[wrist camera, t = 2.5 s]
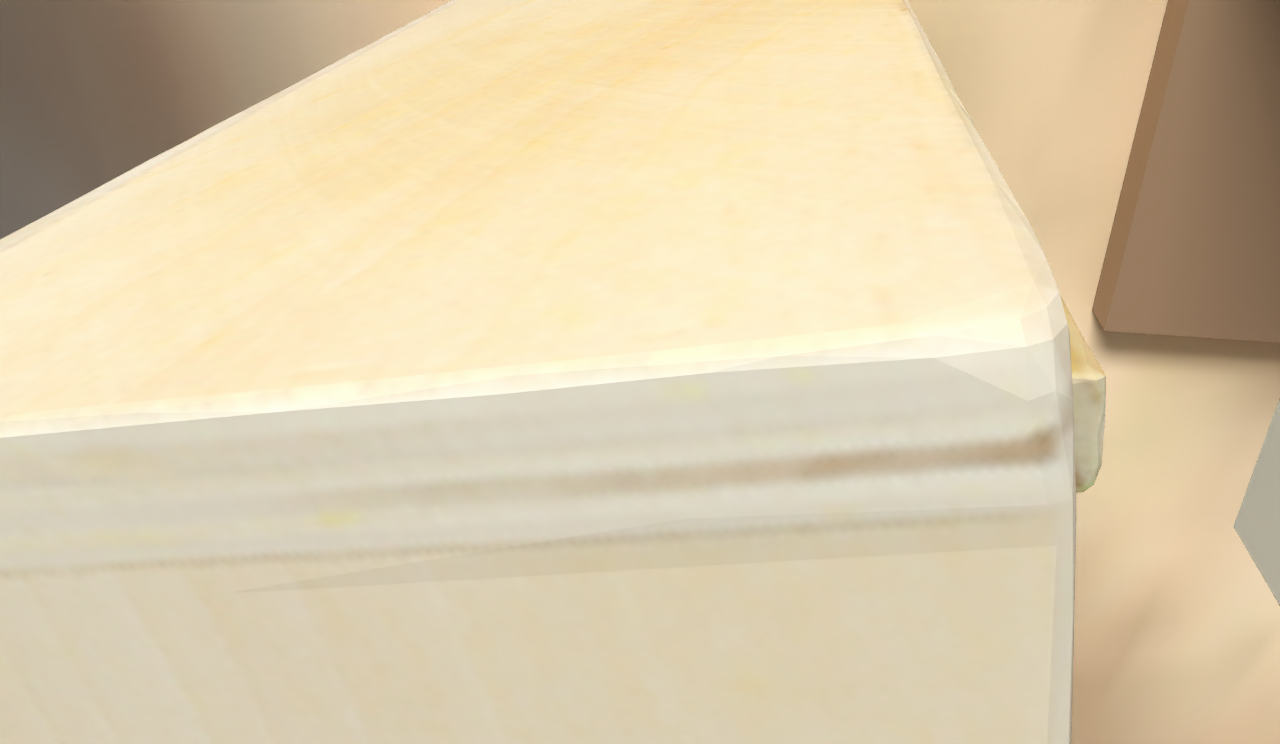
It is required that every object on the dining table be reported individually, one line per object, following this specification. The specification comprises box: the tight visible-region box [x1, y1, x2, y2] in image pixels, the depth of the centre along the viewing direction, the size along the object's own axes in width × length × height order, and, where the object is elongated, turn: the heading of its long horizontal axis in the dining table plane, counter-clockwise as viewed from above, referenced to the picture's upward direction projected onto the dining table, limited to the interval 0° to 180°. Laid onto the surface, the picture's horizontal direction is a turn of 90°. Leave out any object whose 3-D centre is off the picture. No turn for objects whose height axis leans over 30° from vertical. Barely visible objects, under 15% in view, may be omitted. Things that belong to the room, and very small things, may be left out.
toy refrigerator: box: [0, 0, 1106, 744], centre depth 15 cm, size 8×7×21 cm
